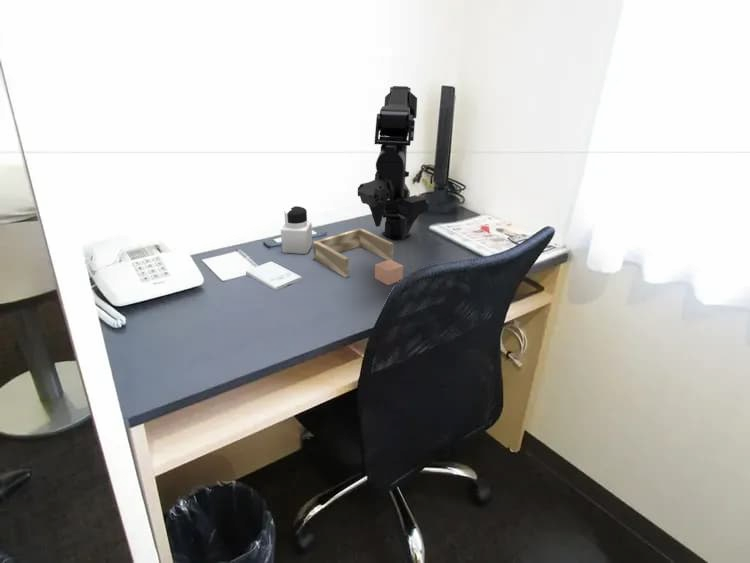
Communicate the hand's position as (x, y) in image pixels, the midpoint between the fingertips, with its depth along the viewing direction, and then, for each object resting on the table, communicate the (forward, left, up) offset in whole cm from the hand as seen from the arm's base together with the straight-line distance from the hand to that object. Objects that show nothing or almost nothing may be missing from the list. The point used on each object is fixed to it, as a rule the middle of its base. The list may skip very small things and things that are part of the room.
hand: (390, 231), depth 115 cm
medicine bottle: (+8, -30, -13) cm, 34 cm away
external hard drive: (+22, -19, -14) cm, 32 cm away
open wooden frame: (0, -15, -13) cm, 19 cm away
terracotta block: (0, 0, -13) cm, 13 cm away
